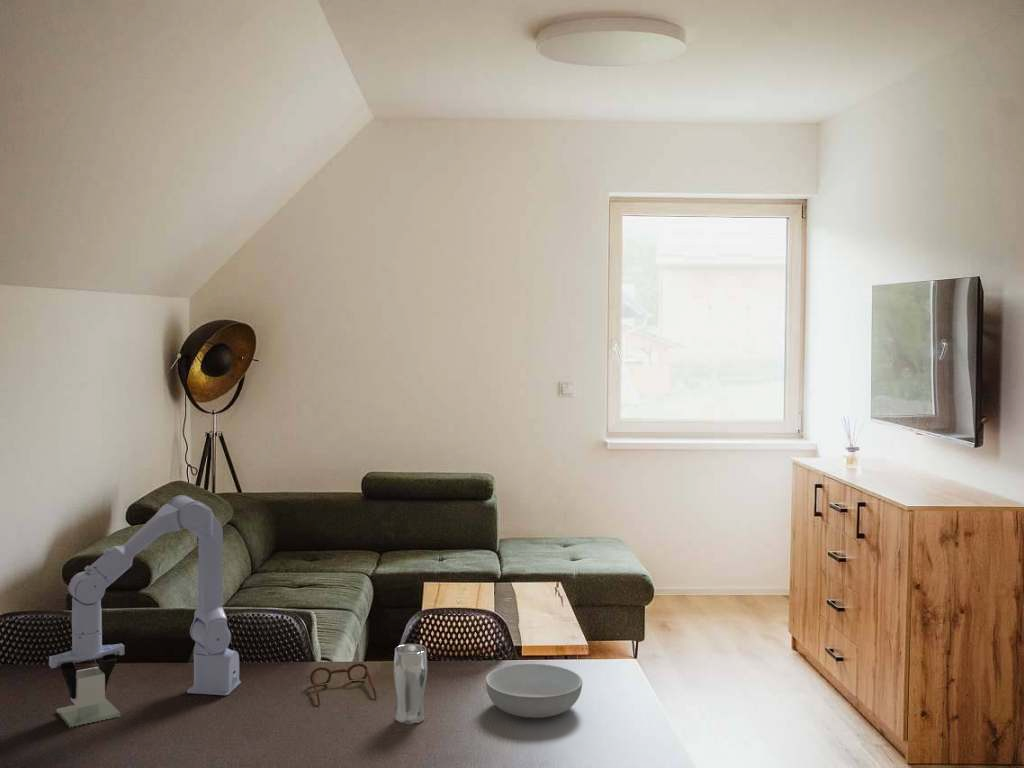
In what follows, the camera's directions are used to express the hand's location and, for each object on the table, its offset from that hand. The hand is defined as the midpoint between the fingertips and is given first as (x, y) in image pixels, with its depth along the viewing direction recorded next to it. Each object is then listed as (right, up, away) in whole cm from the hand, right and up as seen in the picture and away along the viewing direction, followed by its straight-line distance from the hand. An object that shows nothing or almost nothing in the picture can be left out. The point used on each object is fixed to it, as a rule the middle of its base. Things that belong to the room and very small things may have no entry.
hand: (87, 694), depth 212 cm
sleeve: (0, -2, 0) cm, 2 cm away
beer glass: (+67, -5, 0) cm, 68 cm away
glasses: (+51, -5, +14) cm, 53 cm away
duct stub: (0, -4, 0) cm, 4 cm away
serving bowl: (+93, -5, +6) cm, 94 cm away
